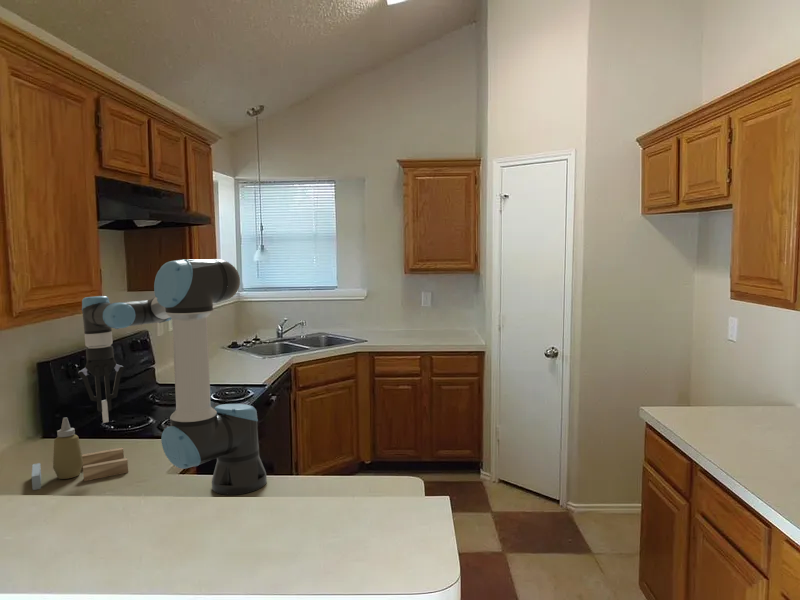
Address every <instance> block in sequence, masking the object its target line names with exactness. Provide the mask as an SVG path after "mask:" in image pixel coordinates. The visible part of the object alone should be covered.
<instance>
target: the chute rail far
mask: <svg viewBox="0 0 800 600" xmlns="http://www.w3.org/2000/svg"><path fill="white" fill-rule="evenodd" d="M124 455H125V454H124V448H123V447H117V448H111V449H106V450H101V451H96V452H94V451H93V452H89V453H84V454H83V453H82V459H83V465H82V468H81V470H83V466H86V465H91V464H96V463H102V462H107V461H112V460H118V459H123V458H125V457H124Z"/></svg>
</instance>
